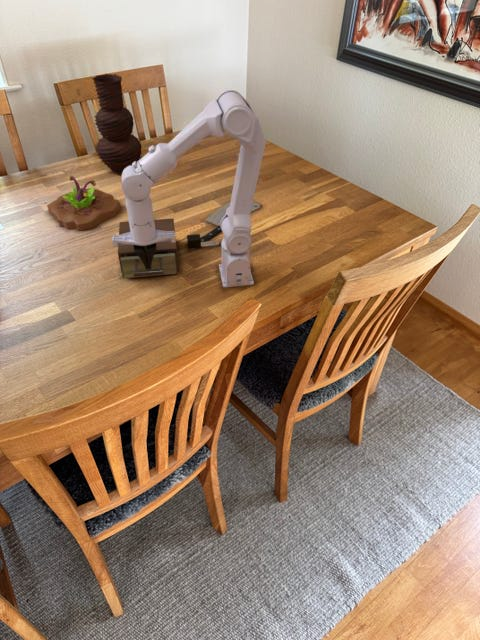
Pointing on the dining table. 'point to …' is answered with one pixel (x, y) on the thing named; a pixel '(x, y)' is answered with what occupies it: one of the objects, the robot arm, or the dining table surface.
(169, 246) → the cabinet
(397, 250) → the dining table surface
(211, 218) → the cleaver
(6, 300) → the dining table surface
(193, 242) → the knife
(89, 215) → the plant
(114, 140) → the vase
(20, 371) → the dining table surface
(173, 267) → the drawer
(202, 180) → the dining table surface
